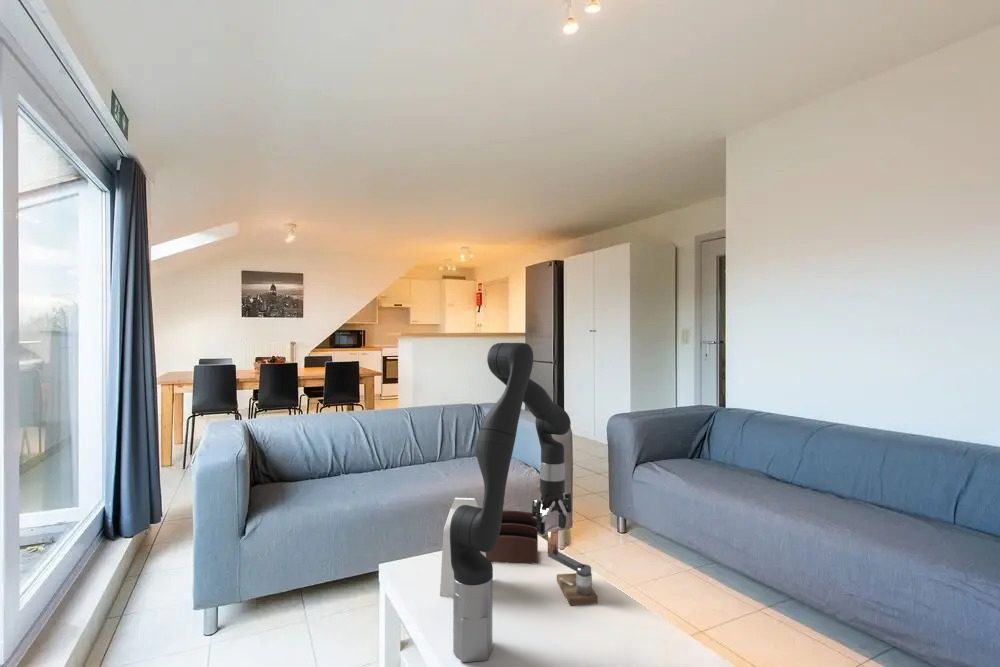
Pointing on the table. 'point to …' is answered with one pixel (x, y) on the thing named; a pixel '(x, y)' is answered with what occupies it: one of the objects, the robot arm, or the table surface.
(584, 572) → the lever
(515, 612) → the table surface
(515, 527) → the letter holder
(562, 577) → the press bench
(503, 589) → the table surface
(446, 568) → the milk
